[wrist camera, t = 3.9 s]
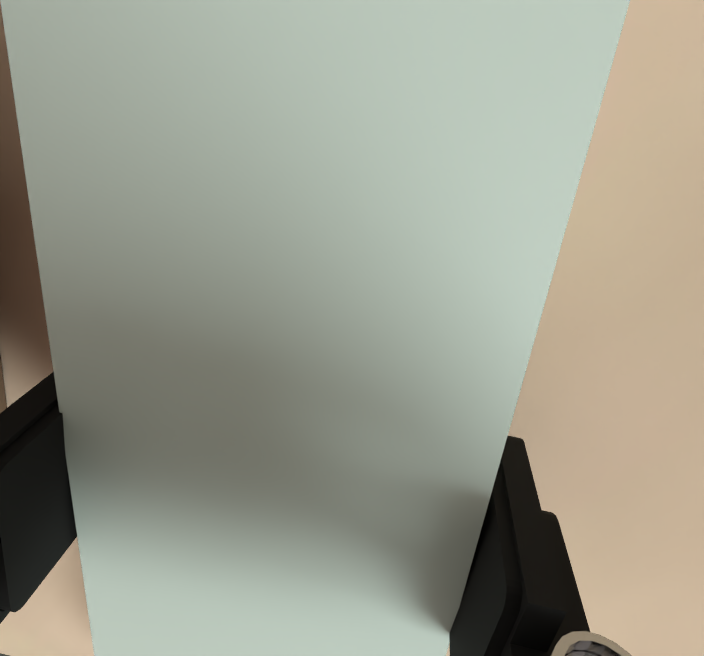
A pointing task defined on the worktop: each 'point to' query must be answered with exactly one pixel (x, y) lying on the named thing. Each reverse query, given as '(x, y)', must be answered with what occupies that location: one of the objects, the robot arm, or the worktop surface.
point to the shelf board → (294, 296)
